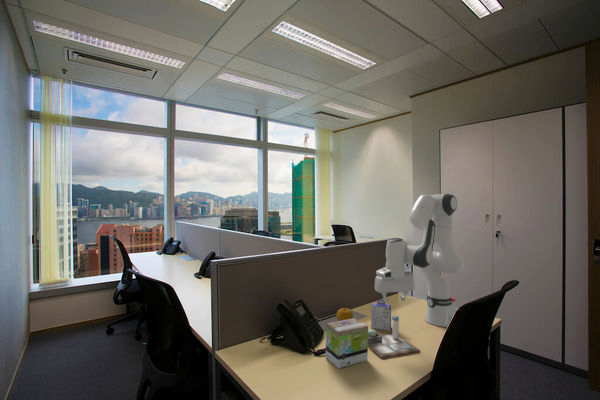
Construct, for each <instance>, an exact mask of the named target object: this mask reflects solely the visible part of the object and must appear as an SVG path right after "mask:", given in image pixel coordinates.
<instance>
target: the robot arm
mask: <svg viewBox="0 0 600 400" xmlns="http://www.w3.org/2000/svg"><path fill="white" fill-rule="evenodd" d="M457 209H458V200H457V197H456V196H455V195H453V194H450V193H445V194H443V193H440V194H438V193H436V194H434V193H433V194H421V195H420V196H418V198H417V199H416V201H415V202H414V204H413V206H412V208H411V210H410V212H409V216H408V217H409V221H410V223H411V224H412V225H413V226H414V227H415V228H416V229H417V230H420V231H422V232H423V237H422V240H421V241H422V242H421V244H419V245H413V244H408V243H405V240H404V239H403V238H400V237H392V238H389V239H388V240H387V242H386V246H385V259H386V261H385V267H382V268H379V269H378V270H376V271H375V273H376V276H375V278H374V279H375V280H374V290H375V292H377V293H378V294H381V295H382V298H383V300H384V301H385V303H388V302H389V297H388V296H387V294H388V293H398V292H399V293H401V292H402V295H400V300H401V301H406V297H407V296H408V294H409V293H408V292H413V291H414V290H415V280H414V278H415V277H414V273H413V272H412V271H405V269H406V266H405V264H406V265H409V266H415V267H418V268H419V269H420V270H421V271H422V273H423V275H424V276H425V279H426V284H427V294H426V302H427V304H426V311H425V317H424V321H425V322H427V323H428V324H430V325H432V326H433V325H434V326H436V327H437V326H438V327H444V328H448V325H449V323H450V321H451V319H452V317H453V315H454V313H455V312H456V310H457V309H459V308H458V307H457V306H456V305H454V304H453V303H455V302H456V301H457V299H456V298H455V297H451V296H450V284H449V282H448V281H447V279H445V278H444V277H442V276H441V274H440V273H444V274H449V275H450V274H454V275H455V274H460V273H461V272H463V270H464V269H465V262H464V261H465V260H464V259H463V258H462V256H461V255H459V253H457V251H456V250H455V248H454V246H453V238H452V237H453V236H452V235H453V216H452V215H453V213H455V212H456V210H457ZM434 245H435V246H436V247H438V250H439V251H433V249H434Z"/></svg>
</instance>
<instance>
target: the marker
mask: <svg viewBox="0 0 600 400" xmlns="http://www.w3.org/2000/svg"><path fill="white" fill-rule="evenodd" d="M399 325H400V317H399V316H398V315H391V331H392V332H391V333H392V337H393V339H394V340H398V338H399V336H400V332H399V331H400V330H399V329H400V326H399Z"/></svg>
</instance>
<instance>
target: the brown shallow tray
mask: <svg viewBox="0 0 600 400" xmlns="http://www.w3.org/2000/svg"><path fill="white" fill-rule="evenodd" d="M368 350H370V351H371V352H373V353H374V354H375V355H376V356H377V357H378V358H379V359H380V360H382V359H388V358H394V357H399V356H404V355H411V354H416V353H420V351H421V349H420V348H418V347H417V346H415V345H414V344H412V343H411V342H410V341H408V340H406V339H405V338H403V337H402V336H401V335H399V338H398V340H394V339H393V337H392V332H391V333H390V332H389V333H383V334H381V333H379V332H378V331H376V336H374V337H369V336H368Z"/></svg>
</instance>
